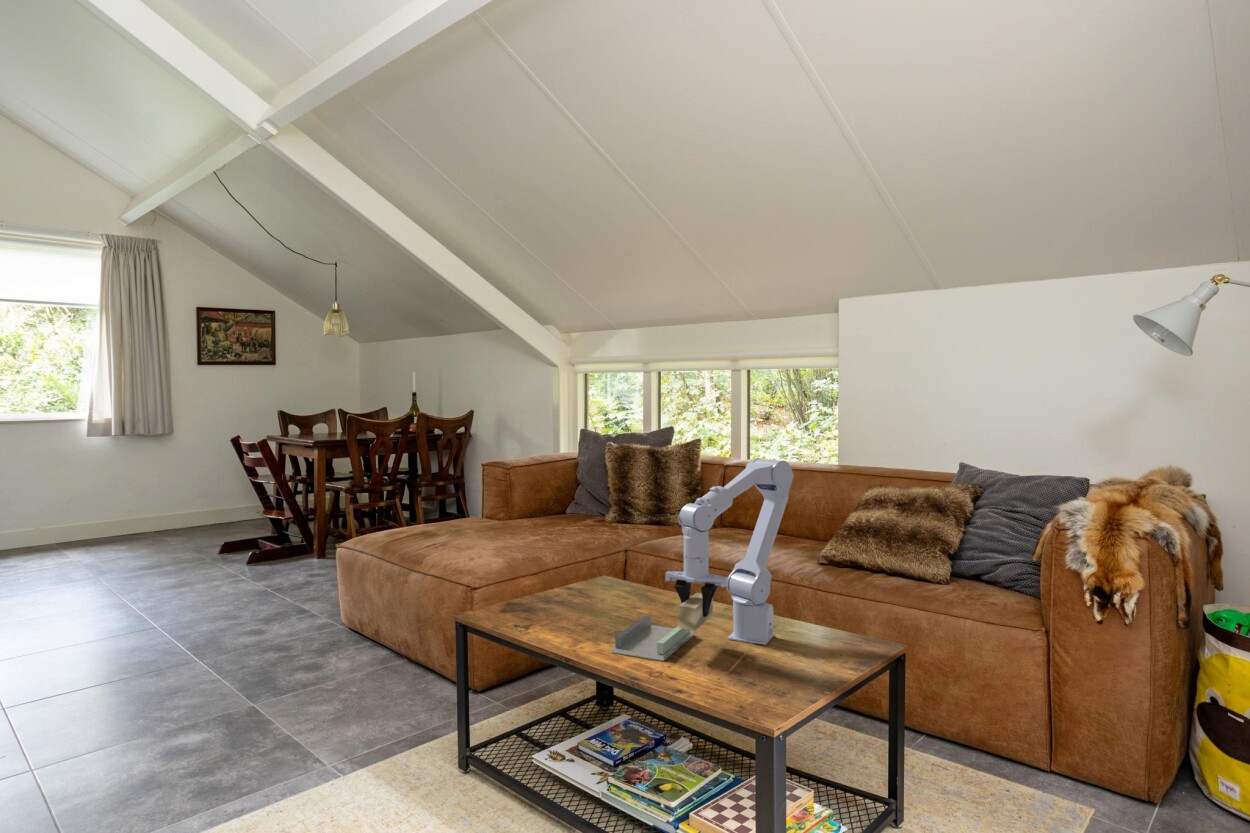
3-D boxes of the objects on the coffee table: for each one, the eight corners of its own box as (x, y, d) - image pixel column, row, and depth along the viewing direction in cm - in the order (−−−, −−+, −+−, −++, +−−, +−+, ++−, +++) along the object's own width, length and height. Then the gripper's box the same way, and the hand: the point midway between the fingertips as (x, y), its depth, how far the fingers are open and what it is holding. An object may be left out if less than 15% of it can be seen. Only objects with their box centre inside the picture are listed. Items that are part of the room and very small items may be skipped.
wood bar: (712, 615, 178) (712, 594, 177) (695, 630, 167) (695, 608, 167) (696, 613, 179) (696, 592, 179) (678, 628, 168) (678, 606, 168)
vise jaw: (690, 631, 183) (690, 621, 183) (663, 654, 168) (663, 643, 168) (684, 630, 184) (684, 620, 184) (656, 653, 169) (656, 642, 168)
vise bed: (693, 635, 184) (693, 620, 184) (663, 661, 167) (663, 645, 167) (645, 628, 190) (645, 614, 189) (611, 652, 173) (611, 637, 172)
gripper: (660, 556, 172) (660, 615, 173) (720, 562, 166) (720, 623, 166) (671, 550, 178) (671, 606, 179) (730, 556, 172) (730, 614, 173)
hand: (696, 614), depth 173 cm, fingers closed on wood bar, 4 cm apart
